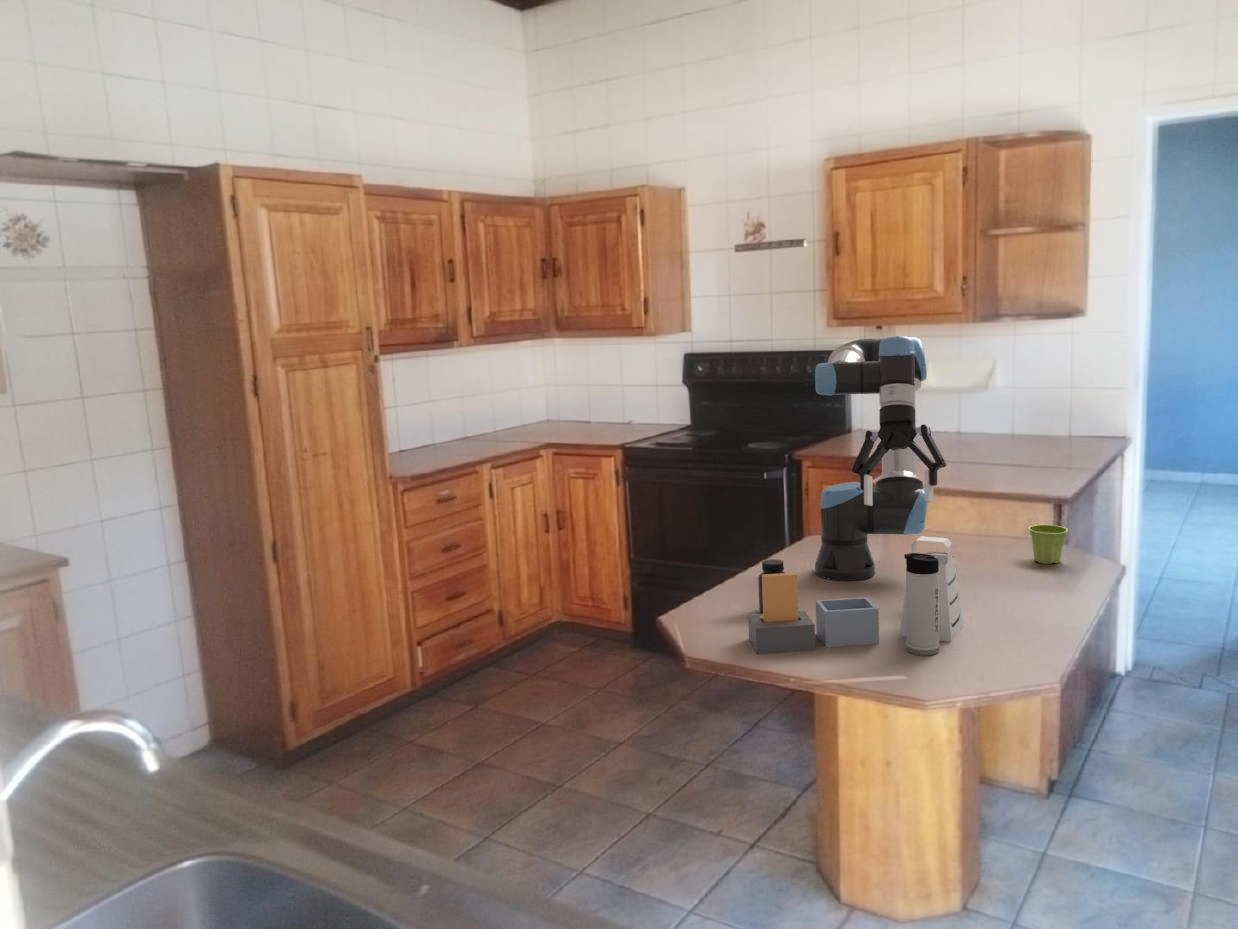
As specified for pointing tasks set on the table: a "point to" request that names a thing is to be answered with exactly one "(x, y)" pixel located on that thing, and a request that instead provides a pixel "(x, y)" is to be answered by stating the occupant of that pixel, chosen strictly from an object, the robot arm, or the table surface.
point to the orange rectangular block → (780, 597)
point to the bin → (847, 621)
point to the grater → (943, 594)
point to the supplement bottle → (768, 568)
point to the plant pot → (1047, 542)
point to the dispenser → (781, 634)
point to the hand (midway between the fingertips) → (898, 503)
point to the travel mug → (922, 604)
